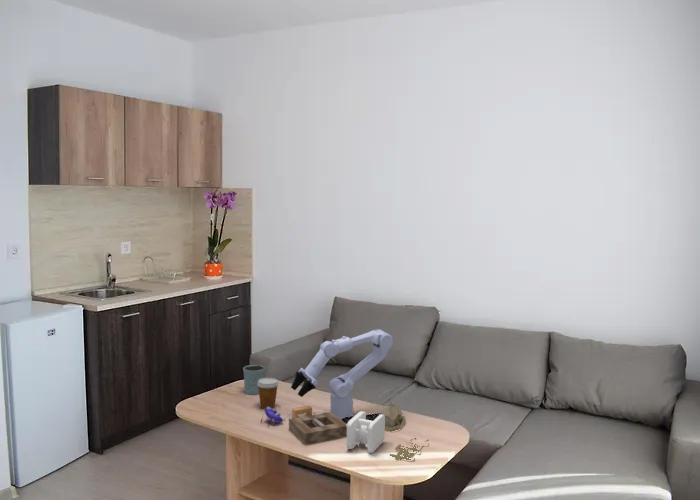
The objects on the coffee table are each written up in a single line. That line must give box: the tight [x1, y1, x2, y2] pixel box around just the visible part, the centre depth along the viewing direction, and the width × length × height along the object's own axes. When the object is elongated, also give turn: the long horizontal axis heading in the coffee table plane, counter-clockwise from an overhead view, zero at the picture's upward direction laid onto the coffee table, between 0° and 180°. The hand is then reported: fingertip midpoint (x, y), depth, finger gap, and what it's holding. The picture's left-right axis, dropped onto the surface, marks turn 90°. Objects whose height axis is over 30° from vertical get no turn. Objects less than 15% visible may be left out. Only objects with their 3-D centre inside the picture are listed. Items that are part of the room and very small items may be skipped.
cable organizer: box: [345, 411, 386, 454], centre depth 236 cm, size 15×11×12 cm
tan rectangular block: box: [291, 405, 313, 419], centre depth 261 cm, size 8×3×5 cm, turn 119°
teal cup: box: [242, 364, 266, 396], centre depth 293 cm, size 10×10×12 cm
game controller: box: [260, 403, 285, 429], centre depth 258 cm, size 10×8×10 cm
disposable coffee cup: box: [257, 377, 279, 410], centre depth 275 cm, size 10×10×12 cm
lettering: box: [388, 443, 422, 461], centre depth 236 cm, size 25×10×1 cm, turn 154°
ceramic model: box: [380, 402, 407, 432], centre depth 257 cm, size 14×11×10 cm
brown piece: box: [288, 411, 347, 446], centre depth 248 cm, size 19×16×4 cm
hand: (296, 392), depth 258 cm, fingers open, 7 cm apart
